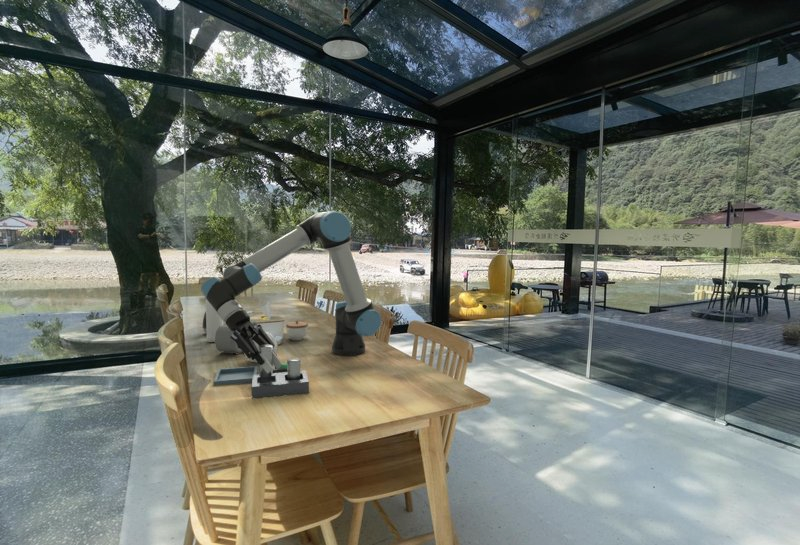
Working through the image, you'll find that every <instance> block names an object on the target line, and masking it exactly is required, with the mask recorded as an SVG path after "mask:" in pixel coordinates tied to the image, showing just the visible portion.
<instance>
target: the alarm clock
mask: <svg viewBox="0 0 800 545" xmlns="http://www.w3.org/2000/svg"><path fill="white" fill-rule="evenodd" d="M250 322H251V323H252V324H254V326H258V325H259V324H258V323H257V322H256V321H253V320H250ZM233 333H234V331H231V330H230V329H229V327H228V326H227V325H226V323H223V325H222V326H220V327H219V328H218V329H217V331H216V335H215V343H214V344H215V348H216V350H217V351H219V352H223V354H233V353H237V355H240V354H241V353H244V352H243V351H242V350H241V348H240V347H239V346H238V344H237V343H236V342H235V341H234V340H233V339H231V338H230V336H231V335H232V334H233Z"/></svg>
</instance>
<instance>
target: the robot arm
mask: <svg viewBox="0 0 800 545" xmlns="http://www.w3.org/2000/svg"><path fill="white" fill-rule="evenodd" d="M351 232H352V224H351V221H350V219H349V218H348V216H346V215H345V214H344V213H342V212H340V211H336V210H330V211H329V210H328V211H320V212H316V213H314V214H313V215H311V216H310V217H308V218H306V219H305V220H304V221H302V222H301V223H299V224H297V225H295V228H294V230H291V231H290V232H288V233H287V234H285V235H283V236H281V237H280V238H278V239H276V240H275V241H273V242H271V243H269V244H268V245H266V246H265V247H262V248H261V249H259V250H257V251H256V252H255V253H252V254H251V255H249V256H247V257H246V258H244V259H242V260H241V261H239V262H237V263H235V264H234V265H233V264H232V265H229V266H227V267H226V268H225V269H224V270H223V273H222V278H220V277H218V276H213V277H210V278H208V279H207V280H205V281H203V283H202V284H201V287H200V291H201V293H202V294H203V295H204V298H205V299H207V300H208V301H209V303H210V304H211V305H212V307H213V308H214V309H215V310H216V312H217V313H218V314H219V316H220V317H221V318H222V320H223V323H224V322H225V324H226V325H227V326H228V327H229V329H230V330H231V331H234V333H233V334H232V335H231V336H230V338H231V339H233V340H234V341H235V342H236V343H237V344H238V346H239V347H240V348H241V350H242V351H243V352H242V353H244V356H245V355H246V356H247V357H248V358H251V359H252V360H254V359H256V361H257V362H258V363H257V364H258V365H259V364H260V365H261V366H262V367H263V368H264V370H265V371H266V372H267V374H268V373H270V372H271V371H272V369H273V366H272V365H271V364H270V363H269V361H268V360H267V359H266V357H265V356H264V355H263V354H262V353H261V354H260V353H259V351H258V349H257V347H256V345H255V343H254V342H253V340H254V341H255V342H256V343H257V344H258V345H259V346H260V345H265V344H270V345H272V346H273V347H274V346H275V345H274V343H273V342H272V341H271V339H270V338H269V337H268V336H267V334H266V333H265V332H266V331H265V330H264V329H263V326H262V324H258V326H254V324H252V323H251V322H250V321H251V316H250V315H249V314H248V313H247V311H246V310H245V309H244V307H242V305H241V304H240V303H239V301H238V299H236V297H238V296H239V295H241V294H242V293H244V292H246V291H247V290H249V289H250V288H252V287H254V286H256V285H257V284H258V283H260V282H261V281H262V278H263V277H262V274H261V273H262V272H264V271H265V270H266V269H268V268H270V267H271V266H274V265H275V264H277V263H278V262H279V261H282V260H283V259H284V258H286V257H288V256H289V255H291V254H293V253H294V252H296V251H298V250H299V249H301V248H303V247H304V246H307V247H309V246H311V245H312V244H314V243H316V242H320V243H321V245H322V246H321V247H322V248H323V250H325V251H326V252H328V254H329V257H330V259H331V262H332V265H333V268H334V271H335V274H336V277H337V279H338V283H339V286H340V288H341V291H342V293H343V297H344V299H345V300H344V301H338V302H336V304H335V309H334V310H335V336H334V338H333V342H332V345H331V352H332V354H335V355H338V356H339V355H340V356H356V354H357V355H360V354H364V353H365V352H366V344H365V341H364V337H371V336H373V335H375V334H376V333H377V332H378V331H379V330H380V326H381V325H382V316H381V314H380V312H378V310H377V309H375V307H374V306H373V303H372V299H370V298H368V297H367V296H366V293H365V290H364V289H365V288H364V286H363V284H362V281H361V278H360V275H359V271H358V269H357V266H356V263H355V259H354V256H353V254H352V251H351V248H350V244H351V242H352V238H351ZM264 331H265V332H264ZM249 353H250V354H249ZM276 353H277V352H276ZM276 353H275V352H274V351H273V365H274V366H275V367H276V369H278V368H279V367H280V366H281V365H282V364H283V363H282V362H283V361H282V360H281V359H280V357H278V355H277V354H276ZM259 354H260V355H259ZM246 356H245V357H246ZM247 357H246V358H247ZM248 358H247V359H248Z"/></svg>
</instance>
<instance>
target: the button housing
mask: <svg viewBox="0 0 800 545" xmlns="http://www.w3.org/2000/svg"><path fill="white" fill-rule="evenodd" d="M282 372H287V368H284V369H276V367H275V366H274V365H273V373H282Z"/></svg>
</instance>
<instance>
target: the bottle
mask: <svg viewBox="0 0 800 545" xmlns="http://www.w3.org/2000/svg"><path fill="white" fill-rule="evenodd" d="M205 299H206V298H205ZM205 311H206V330H207V333H206V342H207V343H209V342H215V335H216V331H217V329H218V328H219V327H220V326H222V325H224V321H223V320H222V318H221V317H220V316H219V314H218V313H217V312H216V310H215V309H214V308H213V307H212V305H211V304H210V303H209V301H208V300H207V299H206V300H205Z"/></svg>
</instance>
